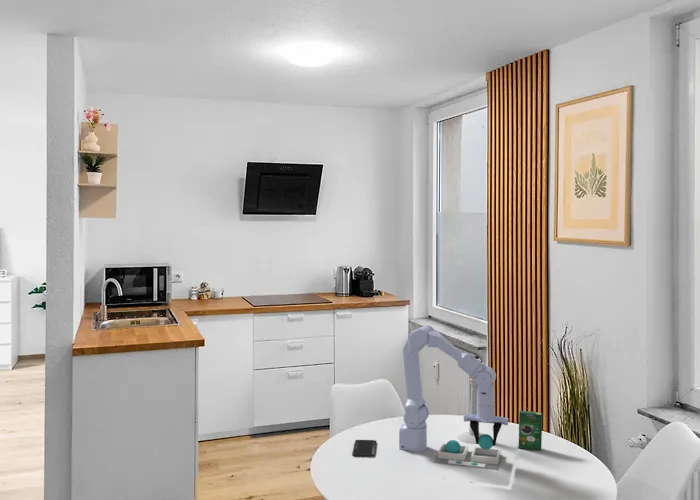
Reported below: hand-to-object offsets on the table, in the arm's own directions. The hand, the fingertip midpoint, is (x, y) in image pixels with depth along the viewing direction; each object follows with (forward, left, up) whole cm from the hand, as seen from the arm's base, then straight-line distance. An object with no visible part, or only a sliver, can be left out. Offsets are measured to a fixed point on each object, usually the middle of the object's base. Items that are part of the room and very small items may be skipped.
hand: (485, 444), depth 210 cm
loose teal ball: (0, 0, -2) cm, 2 cm away
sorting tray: (-5, -2, -6) cm, 8 cm away
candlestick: (-6, +19, -6) cm, 21 cm away
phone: (-42, -1, -6) cm, 43 cm away
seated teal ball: (-11, 0, -5) cm, 12 cm away
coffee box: (+14, +17, -6) cm, 23 cm away
